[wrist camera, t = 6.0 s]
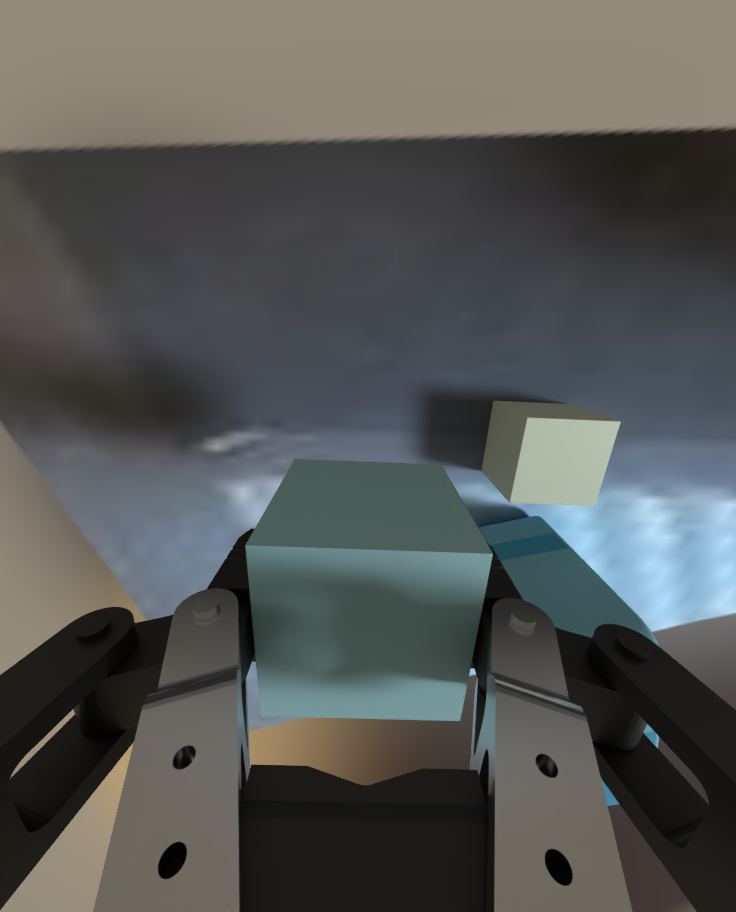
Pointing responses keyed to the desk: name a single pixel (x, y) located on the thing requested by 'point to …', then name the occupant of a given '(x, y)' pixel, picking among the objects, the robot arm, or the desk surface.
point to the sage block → (547, 452)
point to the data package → (560, 585)
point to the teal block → (365, 592)
